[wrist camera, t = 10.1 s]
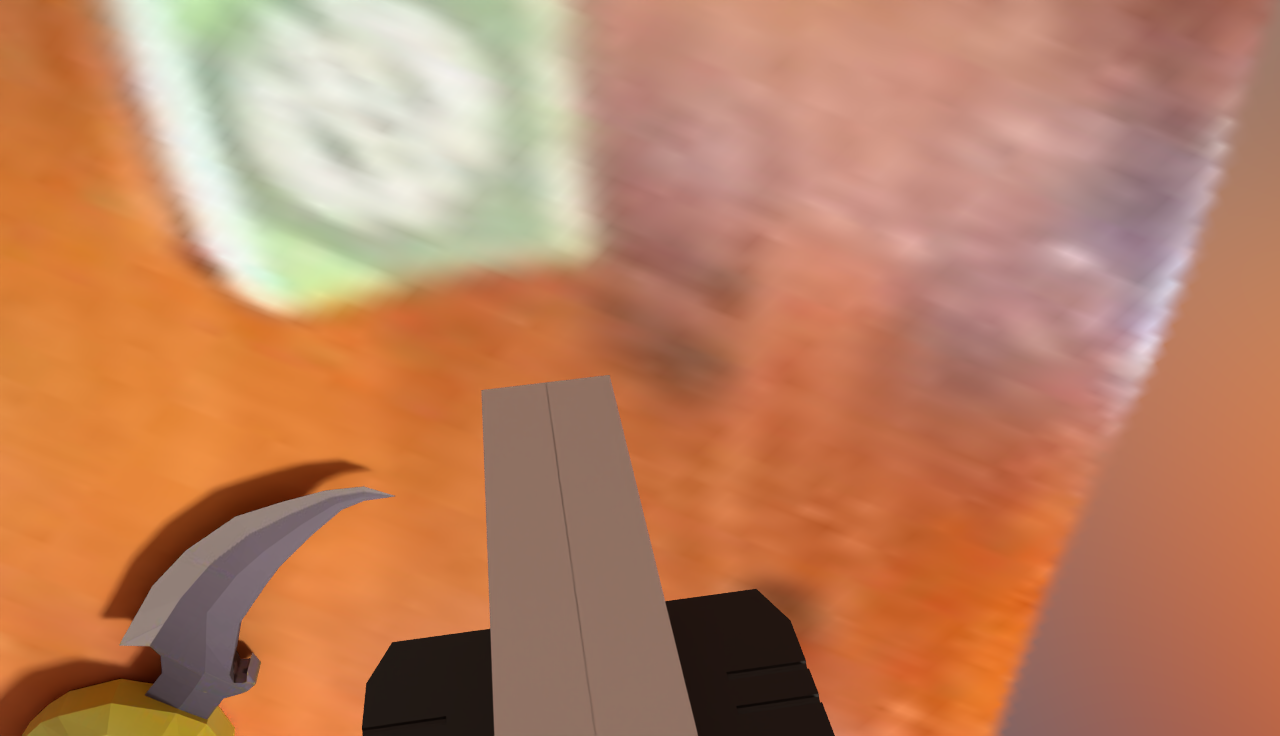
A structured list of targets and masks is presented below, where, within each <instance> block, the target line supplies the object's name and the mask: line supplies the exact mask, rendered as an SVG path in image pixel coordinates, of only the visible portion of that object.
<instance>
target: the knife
mask: <svg viewBox="0 0 1280 736" xmlns="http://www.w3.org/2000/svg"><path fill="white" fill-rule="evenodd" d="M387 497H394V496H393V495H390V494H387V493H383V492H380V491H377V490H373V489H370V488H367V487H355V488H345V489H336V490H327V491H322V492H318V493H314V494H311V495H307V496H303V497H299V498H295V499H291V500H288V501H284V502H280V503H277V504H274V505H271V506H268V507H264V508H261V509H258V510H255V511H252V512H249V513H245V514H242V515H239V516H236V517H234V518H233V519H231V520H230V521H228V522H227V523H225V524H224V525H222V526H221V527H219V528H218V529H216V530H215V531H214V532H212V533H211V534H209V535H208V536H206V537H205V538H203V539H202V540H200V541H199V542H197V543H196V544H195V545H193V546H192V547H190V548H189V549H187V550H186V551H185V552H184V553H183V554H182V555H181V556H180V557H179V558H178V559H177V560H176V562H175V563H174V564H173V565H172V566H171V567H170V568H169V569H168V570H167V571H166V572H165V573H164V574H163V575H162V576H161V577H160V578H159V579H158V581H157V582H156V583H155V584H154V585H153V586H152V588H151V589H150V591H149V593H148V595H147V597H146V598H145V600H144V602H143V604H142V605H141V607H140V609H139V611H138V613H137V614H136V616H135V618H134V620H133V621H132V623H131V625H130V627H129V629H128V630H127V632H126V634H125V636H124V637H123V639H122V641H121V643H120V645H124V646H150V647H151V648H152V649H153V650H155V651H156V652H157V653H158V654H159V655H160V656H161V666H162V674H161V675H160V676H159V678H158V679H157V680H156V681H155V683H154V684H151V683H145V682H138V681H132V680H126V679H117V680H113V681H109V682H105V683H101V684H97V685H93V686H89V687H85V688H81V689H77V690H73V691H69V692H68V693H66V694H64V695H63V696H61V697H60V698H58V699H56V700H55V701H53V702H52V703H50V704H49V705H48V706H47V707H45V708H44V709H43V710H42V711H41V712H40V713H39V714H38V715H37V716H36V717H35V718H34V719H33V720H32V721H31V722H30V723H29V725H28V726H27V728H26V729H25V731H24V733H23V734H22V736H234V735H235V727H234V726H233V725H232V723H231V722H230V721H229V719H228V718H227V717H226V715H225V714H224V713H223V711H222V710H221V709H220V707H219V706H218V705H219V704H220V702H221V701H222V700H223V698H226V697H230V696H234V695H237V694H241V693H244V692H246V691H248V690H249V689H250V688H251V687H253V686H254V685H255V684H256V681H257V677H258V672H259V668H260V664H261V662H260V661H259V659H258V658H257V657H256V656H255V655H254V653H253V652H252V656H251V658H249V659H240V656H239V654H238V652H237V650H236V649H237V643H238V637H239V632H240V626H241V621H242V619H243V618H244V616H245V615H246V613H247V612H248V610H249V609H250V607H251V606H252V604H253V603H254V601H255V600H256V599H257V597H258V596H259V594H260V593H261V591H262V590H263V588H264V587H265V585H266V584H267V583H268V581H269V580H270V579H271V577H272V576H273V575H274V573H275V572H276V571H277V569H278V568H279V567H280V566H281V565H282V564H283V563H284V562H285V561H286V560H287V559H288V558H289V557H290V556H291V555H292V554H293V553H294V552H295V551H296V550H297V549H298V548H299V547H300V546H301V545H302V544H303V543H304V542H305V541H306V540H307V539H308V538H309V537H310V536H311V535H312V534H314V533H315V532H316V531H317V530H318V529H320V528H321V527H322V526H323V525H324V524H325V523H327V522H328V521H329V520H330V519H331V518H333V517H334V516H335V515H336V514H337V513H338V512H340V511H341V510H342V509H345V508H347V507H350V506H352V505H355V504H357V503H360V502H362V501H365V500H373V499H380V498H387Z"/></svg>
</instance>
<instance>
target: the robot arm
mask: <svg viewBox="0 0 1280 736" xmlns="http://www.w3.org/2000/svg"><path fill="white" fill-rule="evenodd" d="M482 415H483V442H484V469H485V496H486V523H487V550H488V577H489V603H490V629H486V630H478V631H471V632H464V633H457V634H449V635H442V636H435V637H428V638H420V639H413V640H406V641H399V642H392V644H391V645H390V647H389V648H388V650H387V652H386V653H385V655H384V656H383V658H382V660H381V661H380V663H379V664H378V666H377V668H376V669H375V671H374V672H373V674H372V676H371V677H370V679H369V680H368V682H367V683H366V693H365V703H364V713H363V723H362V732H363V736H835V735H834V732H833V730H832V727H831V725H830V722H829V720H828V717H827V714H826V712H825V709H824V707H823V704H822V702H821V703H820V700H819V694H818V691H817V688H816V686H815V683H814V681H813V678H812V675H811V673H810V670H809V669H807V666H806V660H805V657H804V655H803V652H802V649H801V647H800V644H799V642H798V639H797V637H796V634H795V631H794V629H793V626H792V624H791V621H790V620H789V619H788V618H787V617H786V616H785V615H784V614H783V613H782V612H781V611H780V610H778V609H777V608H776V607H775V606H774V605H773V604H772V603H771V602H770V601H769V600H768V599H767V598H765V597H764V596H763V595H762V594H761V593H760V592H759V591H758V590H757V589H752V590H744V591H737V592H730V593H723V594H715V595H708V596H701V597H694V598H686V599H679V600H672V601H665V599H664V595H663V591H662V587H661V583H660V579H659V575H658V571H657V567H656V563H655V558H654V554H653V550H652V546H651V542H650V538H649V534H648V530H647V526H646V522H645V518H644V514H643V510H642V506H641V501H640V497H639V493H638V489H637V485H636V481H635V477H634V473H633V469H632V465H631V461H630V457H629V453H628V449H627V444H626V440H625V436H624V432H623V428H622V424H621V420H620V416H619V412H618V408H617V404H616V400H615V396H614V392H613V387H612V383H611V379H610V375H606V376H598V377H589V378H581V379H572V380H564V381H555V382H547V383H539V384H530V385H522V386H513V387H505V388H496V389H488V390H482Z"/></svg>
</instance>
